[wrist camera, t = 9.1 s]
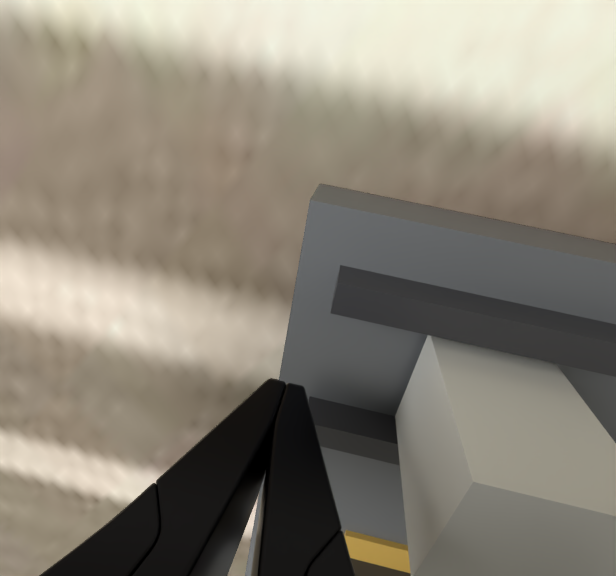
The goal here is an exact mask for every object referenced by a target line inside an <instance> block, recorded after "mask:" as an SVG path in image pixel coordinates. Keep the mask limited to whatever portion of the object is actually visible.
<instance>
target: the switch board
mask: <svg viewBox="0 0 616 576" xmlns="http://www.w3.org/2000/svg"><path fill="white" fill-rule="evenodd" d="M428 335H430V336H434V337H439V338H443V339H448V340H452V341H457V342H461V343H466V344H470V345H475V346H479V347H484V348H488V349H493V350H497V351H502V352H506V353H511V354H515V355H520V356H524V357H529V358H533V359H538V360H542V361H547V362H551V363H555V364H557V366H558V367H559V368H560V370H561V371H562V372H563V374H564V375H565V376H566V378H567V379H568V380H569V382H570V383H571V384H572V386H573V387H574V388H575V390H576V391H577V392H578V394H579V395H580V396H581V398H582V399H583V400H584V402H585V403H586V404H587V406H588V407H589V408H590V410H591V411H592V412H593V414H594V415H595V416H596V418H597V419H598V420H599V422H600V423H601V424H602V426H603V427H604V428H605V430H606V431H607V432H608V434H609V435H610V436H611V438H612V439H613V440H614V442H615V443H616V244H613V243H608V242H603V241H598V240H593V239H588V238H583V237H578V236H573V235H569V234H564V233H559V232H554V231H549V230H544V229H539V228H534V227H530V226H525V225H520V224H515V223H510V222H505V221H500V220H495V219H490V218H486V217H481V216H476V215H471V214H466V213H461V212H456V211H451V210H447V209H442V208H437V207H432V206H427V205H422V204H417V203H412V202H407V201H403V200H398V199H393V198H388V197H383V196H378V195H373V194H368V193H364V192H359V191H354V190H349V189H344V188H339V187H334V186H329V185H324V184H319V186H318V188H317V189H316V191H315V193H314V194H313V196H312V198H311V199H310V203H309V209H308V215H307V220H306V226H305V232H304V238H303V243H302V249H301V255H300V261H299V267H298V272H297V278H296V284H295V290H294V295H293V301H292V307H291V313H290V319H289V324H288V330H287V336H286V342H285V347H284V353H283V359H282V365H281V370H280V376H279V380H281V381H284V382H285V383H286V384H287V383H294V384H298V385H302V386H304V388H305V391H306V394H307V398H308V402H309V406H310V409H311V413H312V417H313V421H314V424H315V428H316V432H317V436H318V439H319V443H320V447H321V451H322V454H323V458H324V462H325V466H326V469H327V473H328V477H329V481H330V485H331V488H332V492H333V496H334V500H335V503H336V507H337V511H338V515H339V518H340V522H341V526H342V529H341V531H343V533H344V536H345V540H346V544H347V548H348V551H349V555H350V558H351V562H352V565H353V568H354V572H355V575H356V576H411V573H410V563H409V553H408V542H407V532H406V522H405V512H404V502H403V492H402V481H401V471H400V461H399V451H398V441H397V431H396V420H395V415H396V413H397V410H398V408H399V405H400V403H401V400H402V398H403V395H404V393H405V390H406V388H407V385H408V383H409V380H410V378H411V375H412V373H413V370H414V368H415V366H416V363H417V361H418V358H419V356H420V353H421V351H422V348H423V346H424V343H425V341H426V338H427V336H428ZM264 478H265V476H264ZM263 484H264V479H263V482H262V485H261V488H260V492H259V497H258V503H257V509H256V515H255V521H254V526H253V532H252V538H251V544H250V549H249V555H248V561H247V567H246V573H245V576H251V570H252V563H253V556H254V548H255V541H256V534H257V526H258V519H259V512H260V504H261V497H262V490H263Z"/></svg>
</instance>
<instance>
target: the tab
mask: <svg viewBox="0 0 616 576" xmlns="http://www.w3.org/2000/svg"><path fill="white" fill-rule="evenodd" d="M395 420H396V431H397V441H398V451H399V461H400V471H401V481H402V492H403V502H404V512H405V522H406V532H407V542H408V553H409V563H410V573H411V576H616V443H615V442H614V440H613V439H612V438H611V436H610V435H609V434H608V432H607V431H606V430H605V428H604V427H603V426H602V424H601V423H600V422H599V420H598V419H597V418H596V416H595V415H594V414H593V412H592V411H591V410H590V408H589V407H588V406H587V404H586V403H585V402H584V400H583V399H582V398H581V396H580V395H579V394H578V392H577V391H576V390H575V388H574V387H573V386H572V384H571V383H570V382H569V380H568V379H567V378H566V376H565V375H564V374H563V372H562V371H561V370H560V368H559V367H558V366H557V364H555V363H551V362H547V361H542V360H538V359H533V358H529V357H524V356H520V355H515V354H511V353H506V352H502V351H497V350H493V349H488V348H484V347H479V346H475V345H470V344H466V343H461V342H457V341H452V340H448V339H443V338H439V337H434V336H430V335H428V336H427V338H426V341H425V343H424V346H423V348H422V351H421V353H420V356H419V358H418V361H417V363H416V366H415V368H414V370H413V373H412V375H411V378H410V380H409V383H408V385H407V388H406V390H405V393H404V395H403V398H402V400H401V403H400V405H399V408H398V410H397V413H396V415H395Z"/></svg>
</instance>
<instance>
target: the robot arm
mask: <svg viewBox="0 0 616 576" xmlns="http://www.w3.org/2000/svg"><path fill="white" fill-rule="evenodd" d="M264 476H265V478H264ZM263 479H264V484H263V490H262V497H261V504H260V512H259V519H258V526H257V534H256V541H255V548H254V556H253V563H252V570H251V576H356V575H355V572H354V568H353V565H352V562H351V558H350V555H349V551H348V548H347V544H346V540H345V536H344V533H343V531H341V529H342V526H341V522H340V518H339V515H338V511H337V507H336V503H335V500H334V496H333V492H332V488H331V485H330V481H329V477H328V473H327V469H326V466H325V462H324V458H323V454H322V451H321V447H320V443H319V439H318V436H317V432H316V428H315V424H314V421H313V417H312V413H311V409H310V406H309V402H308V398H307V394H306V391H305V388H304V386H302V385H298V384H294V383H287V384H286V383H285V382H284V381H281V380H277V379H272V378H270V379H268V380H266V381H265V382H264V383H263V384H262V385H261V386H260V387H259V388H258V389H257V390H255V391H254V392H253V393H252V394H251V395H250V396H249V397H248V398H247V399H245V400H244V401H243V402H242V403H241V404H240V405H239V406H238V407H237V408H236V409H234V410H233V411H232V412H231V413H230V414H229V415H228V416H227V417H226V418H225V419H223V420H222V421H221V422H220V423H219V424H218V425H217V426H216V427H215V428H214V429H212V430H211V431H210V432H209V433H208V434H207V435H206V436H205V437H204V438H202V439H201V440H200V441H199V442H198V443H197V444H196V445H195V446H194V447H193V448H191V449H190V450H189V451H188V452H187V453H186V454H185V455H184V456H183V457H182V458H180V459H179V460H178V461H177V462H176V463H175V464H174V465H173V466H172V467H171V468H169V469H168V470H167V471H166V472H165V473H164V474H163V475H162V476H161V477H160V478H158V479H157V481H156V484H155V483H153V484H151V485H150V486H149V487H148V488H147V489H146V490H145V491H144V492H143V493H142V494H141V495H139V496H138V497H137V498H136V499H135V500H134V501H133V502H132V503H130V504H129V505H128V506H127V507H126V508H125V509H123V510H122V511H121V512H120V513H119V514H118V515H116V516H115V517H114V518H113V519H112V520H111V521H109V522H108V523H107V524H106V525H105V526H103V527H102V528H101V529H99V530H98V531H97V532H96V533H94V534H93V535H92V536H90V537H89V538H88V539H87V540H85V541H84V542H83V543H82V544H80V545H79V546H78V547H76V548H75V549H74V550H73V551H71V552H70V553H69V554H67V555H66V556H65V557H63V558H62V559H61V560H59V561H58V562H57V563H55V564H54V565H53V566H51V567H50V568H49V569H47V570H46V571H45V572H43V573H42V574H41V575H39V576H227V574H228V572H229V569H230V567H231V564H232V561H233V559H234V556H235V554H236V551H237V548H238V546H239V543H240V541H241V538H242V535H243V533H244V530H245V527H246V525H247V522H248V520H249V517H250V514H251V512H252V509H253V507H254V504H255V501H256V499H257V496H258V494H259V491H260V488H261V485H262V482H263Z"/></svg>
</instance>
